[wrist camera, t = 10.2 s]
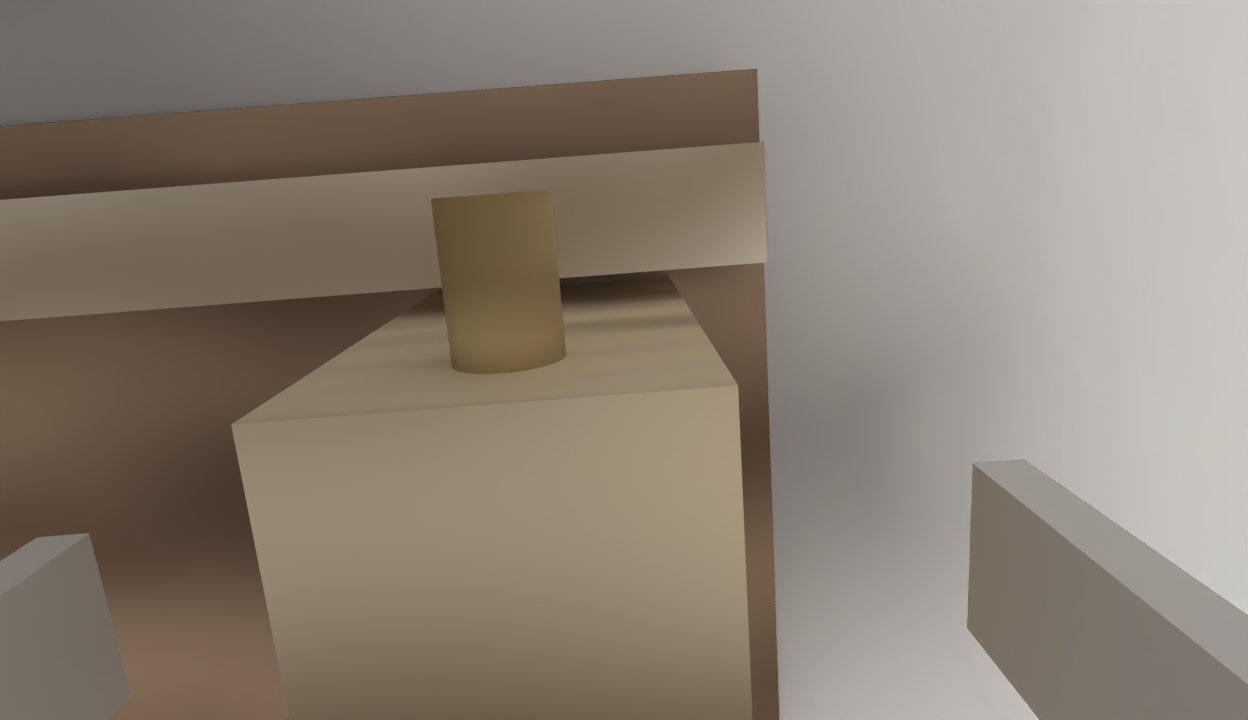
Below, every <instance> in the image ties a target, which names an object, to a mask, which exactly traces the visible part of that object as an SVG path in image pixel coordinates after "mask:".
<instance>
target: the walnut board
mask: <svg viewBox="0 0 1248 720" xmlns="http://www.w3.org/2000/svg"><path fill="white" fill-rule="evenodd" d="M534 190H551V196H552V207H553V218H554V228H555V239H556V250H557V261H558V271H559V282H560V284H571V283H584V282H597V281H610V280H623V279H636V278H649V277H662V276H669V277H670V279H671V280H672V282H673V283H674V285H675V287H676V288H677V290H678V291H679V293H680V294H681V296H682V298H683V299H684V301H685V302H686V304H687V305H688V307H689V309H690V310H691V312H692V313H693V315H694V317H695V318H696V320H697V321H698V323H699V324H700V326H701V328H702V329H703V331H704V332H705V334H706V335H707V337H708V339H709V340H710V342H711V343H712V345H713V347H714V348H715V350H716V351H717V353H718V354H719V356H720V358H721V359H722V361H723V362H724V364H725V365H726V367H727V369H728V370H729V372H730V373H731V375H732V376H733V378H734V380H735V381H736V383H737V384H738V394H739V417H740V441H741V464H742V487H743V510H744V533H745V557H746V580H747V603H748V626H749V649H750V672H751V696H752V719H753V720H779V700H778V671H777V642H776V612H775V583H774V554H773V525H772V496H771V467H770V438H769V409H768V379H767V350H766V321H765V292H764V263H766V262H767V231H766V201H765V171H764V142H759V117H758V88H757V69H749V70H735V71H722V72H709V73H696V74H683V75H670V76H656V77H643V78H630V79H617V80H604V81H591V82H577V83H564V84H551V85H538V86H525V87H512V88H498V89H485V90H472V91H459V92H446V93H433V94H419V95H406V96H393V97H380V98H367V99H354V100H340V101H327V102H314V103H301V104H288V105H275V106H261V107H248V108H235V109H222V110H209V111H196V112H182V113H169V114H156V115H143V116H130V117H117V118H103V119H90V120H77V121H64V122H51V123H38V124H24V125H11V126H0V561H1V560H3V559H5V558H6V557H8V556H9V555H11V554H12V553H14V552H15V551H17V550H18V549H20V548H21V547H23V546H24V545H26V544H28V543H29V542H31V541H32V540H34V539H35V538H37V537H46V536H59V535H71V534H84V533H89V534H90V538H91V542H92V546H93V550H94V554H95V558H96V562H97V565H98V569H99V573H100V577H101V581H102V585H103V589H104V593H105V596H106V600H107V604H108V608H109V612H110V616H111V620H112V624H113V627H114V631H115V635H116V639H117V643H118V647H119V651H120V655H121V658H122V662H123V666H124V670H125V674H126V678H127V682H128V686H129V689H130V693H131V695H130V696H129V698H128V699H127V700H126V701H125V702H124V703H123V704H122V705H121V706H120V708H119V709H118V710H117V711H116V712H115V713H114V714H113V715H112V717H111V718H110V719H109V720H289V717H288V712H287V707H286V702H285V697H284V692H283V687H282V681H281V676H280V671H279V666H278V661H277V656H276V651H275V646H274V641H273V635H272V630H271V625H270V620H269V615H268V610H267V605H266V600H265V595H264V589H263V584H262V579H261V574H260V569H259V564H258V559H257V554H256V549H255V543H254V538H253V533H252V528H251V523H250V518H249V513H248V508H247V503H246V497H245V492H244V487H243V482H242V477H241V472H240V467H239V462H238V457H237V451H236V446H235V441H234V436H233V431H232V426H231V424H233V423H234V422H236V421H237V420H239V419H240V418H242V417H244V416H245V415H247V414H248V413H250V412H251V411H253V410H254V409H256V408H257V407H259V406H260V405H262V404H263V403H265V402H267V401H268V400H270V399H271V398H273V397H274V396H276V395H277V394H279V393H280V392H282V391H283V390H285V389H287V388H288V387H290V386H291V385H293V384H294V383H296V382H297V381H299V380H300V379H302V378H303V377H305V376H306V375H308V374H310V373H311V372H313V371H314V370H316V369H317V368H319V367H320V366H322V365H323V364H325V363H326V362H328V361H329V360H331V359H333V358H334V357H336V356H337V355H339V354H340V353H342V352H343V351H345V350H346V349H348V348H349V347H351V346H353V345H354V344H356V343H357V342H359V341H360V340H362V339H363V338H365V337H366V336H368V335H369V334H371V333H372V332H374V331H376V330H377V329H379V328H380V327H382V326H383V325H385V324H386V323H388V322H389V321H391V320H392V319H394V318H395V317H397V316H399V315H400V314H402V313H403V312H405V311H406V310H408V309H409V308H411V307H412V306H414V305H415V304H417V303H419V302H420V301H422V300H423V299H425V298H426V297H428V296H429V295H431V294H441V293H443V292H442V285H441V277H440V269H439V261H438V253H437V245H436V237H435V230H434V222H433V214H432V206H431V199H433V198H444V197H456V196H469V195H481V194H494V193H507V192H521V191H534Z"/></svg>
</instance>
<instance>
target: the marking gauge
mask: <svg viewBox="0 0 1248 720" xmlns="http://www.w3.org/2000/svg"><path fill="white" fill-rule="evenodd" d="M431 206H432V214H433V222H434V230H435V237H436V245H437V253H438V261H439V269H440V277H441V285H442V292H443V293H441V294H431V295H429V296H428V297H426V298H425V299H423V300H422V301H420V302H419V303H417V304H415V305H414V306H412V307H411V308H409V309H408V310H406V311H405V312H403V313H402V314H400V315H399V316H397V317H395V318H394V319H392V320H391V321H389V322H388V323H386V324H385V325H383V326H382V327H380V328H379V329H377V330H376V331H374V332H372V333H371V334H369V335H368V336H366V337H365V338H363V339H362V340H360V341H359V342H357V343H356V344H354V345H353V346H351V347H349V348H348V349H346V350H345V351H343V352H342V353H340V354H339V355H337V356H336V357H334V358H333V359H331V360H329V361H328V362H326V363H325V364H323V365H322V366H320V367H319V368H317V369H316V370H314V371H313V372H311V373H310V374H308V375H306V376H305V377H303V378H302V379H300V380H299V381H297V382H296V383H294V384H293V385H291V386H290V387H288V388H287V389H285V390H283V391H282V392H280V393H279V394H277V395H276V396H274V397H273V398H271V399H270V400H268V401H267V402H265V403H263V404H262V405H260V406H259V407H257V408H256V409H254V410H253V411H251V412H250V413H248V414H247V415H245V416H244V417H242V418H240V419H239V420H237V421H236V422H234V423H233V424H231V426H232V431H233V436H234V441H235V446H236V451H237V457H238V462H239V467H240V472H241V477H242V482H243V487H244V492H245V497H246V503H247V508H248V513H249V518H250V523H251V528H252V533H253V538H254V543H255V549H256V554H257V559H258V564H259V569H260V574H261V579H262V584H263V589H264V595H265V600H266V605H267V610H268V615H269V620H270V625H271V630H272V635H273V641H274V646H275V651H276V656H277V661H278V666H279V671H280V676H281V681H282V687H283V692H284V697H285V702H286V707H287V712H288V717H289V720H753V719H752V696H751V672H750V649H749V626H748V603H747V580H746V557H745V533H744V510H743V487H742V464H741V441H740V417H739V394H738V384H737V383H736V381H735V380H734V378H733V376H732V375H731V373H730V372H729V370H728V369H727V367H726V365H725V364H724V362H723V361H722V359H721V358H720V356H719V354H718V353H717V351H716V350H715V348H714V347H713V345H712V343H711V342H710V340H709V339H708V337H707V335H706V334H705V332H704V331H703V329H702V328H701V326H700V324H699V323H698V321H697V320H696V318H695V317H694V315H693V313H692V312H691V310H690V309H689V307H688V305H687V304H686V302H685V301H684V299H683V298H682V296H681V294H680V293H679V291H678V290H677V288H676V287H675V285H674V283H673V282H672V280H671V279H670V277H669V276H662V277H649V278H636V279H623V280H610V281H597V282H584V283H571V284H560V282H559V271H558V261H557V250H556V239H555V228H554V218H553V207H552V196H551V190H534V191H521V192H507V193H494V194H481V195H469V196H456V197H444V198H433V199H431Z"/></svg>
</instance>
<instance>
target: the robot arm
mask: <svg viewBox="0 0 1248 720" xmlns="http://www.w3.org/2000/svg"><path fill="white" fill-rule="evenodd" d="M967 628H968V630H969V631H970V632H971V633H972V635H973V636H974V637H975V639H976V640H977V641H978V642H979V644H980V645H981V646H982V647H983V649H984V650H985V651H986V652H987V654H988V655H989V656H990V658H991V659H992V660H993V661H994V663H995V664H996V665H997V666H998V668H999V669H1000V670H1001V671H1002V673H1003V674H1004V675H1005V677H1006V678H1007V679H1008V680H1009V682H1010V683H1011V684H1012V685H1013V687H1014V688H1015V689H1016V691H1017V692H1018V693H1019V694H1020V696H1021V697H1022V698H1023V699H1024V701H1025V702H1026V703H1027V704H1028V706H1029V707H1030V708H1031V710H1032V711H1033V712H1034V713H1035V715H1036V716H1037V717H1038V718H1039V720H1248V615H1247V614H1245V613H1244V612H1243V611H1241V610H1240V609H1238V608H1237V607H1235V606H1234V605H1232V604H1231V603H1230V602H1228V601H1227V600H1225V599H1224V598H1222V597H1221V596H1220V595H1218V594H1217V593H1215V592H1214V591H1212V590H1211V589H1209V588H1208V587H1207V586H1205V585H1204V584H1202V583H1201V582H1199V581H1198V580H1197V579H1195V578H1194V577H1192V576H1191V575H1189V574H1188V573H1186V572H1185V571H1184V570H1182V569H1181V568H1179V567H1178V566H1176V565H1175V564H1174V563H1172V562H1171V561H1169V560H1168V559H1166V558H1165V557H1163V556H1162V555H1161V554H1159V553H1158V552H1156V551H1155V550H1153V549H1152V548H1151V547H1149V546H1148V545H1146V544H1145V543H1143V542H1142V541H1140V540H1139V539H1138V538H1136V537H1135V536H1133V535H1132V534H1130V533H1129V532H1128V531H1126V530H1125V529H1123V528H1122V527H1120V526H1119V525H1117V524H1116V523H1115V522H1113V521H1112V520H1110V519H1109V518H1107V517H1106V516H1105V515H1103V514H1102V513H1100V512H1099V511H1097V510H1096V509H1094V508H1093V507H1092V506H1090V505H1089V504H1087V503H1086V502H1084V501H1083V500H1082V499H1080V498H1079V497H1077V496H1076V495H1074V494H1073V493H1071V492H1070V491H1069V490H1067V489H1066V488H1064V487H1063V486H1061V485H1060V484H1059V483H1057V482H1056V481H1054V480H1053V479H1051V478H1050V477H1048V476H1047V475H1046V474H1044V473H1043V472H1041V471H1040V470H1038V469H1037V468H1036V467H1034V466H1033V465H1031V464H1030V463H1028V462H1027V461H1026V460H1011V461H998V462H986V463H973V473H972V502H971V532H970V561H969V590H968V619H967ZM130 695H131V693H130V689H129V686H128V682H127V678H126V674H125V670H124V666H123V662H122V658H121V655H120V651H119V647H118V643H117V639H116V635H115V631H114V627H113V624H112V620H111V616H110V612H109V608H108V604H107V600H106V596H105V593H104V589H103V585H102V581H101V577H100V573H99V569H98V565H97V562H96V558H95V554H94V550H93V546H92V542H91V538H90V534H89V533H84V534H71V535H59V536H46V537H37V538H35V539H34V540H32V541H31V542H29V543H28V544H26V545H24V546H23V547H21V548H20V549H18V550H17V551H15V552H14V553H12V554H11V555H9V556H8V557H6V558H5V559H3V560H1V561H0V720H109V719H110V718H111V717H112V715H113V714H114V713H115V712H116V711H117V710H118V709H119V708H120V706H121V705H122V704H123V703H124V702H125V701H126V700H127V699H128V698H129V696H130Z"/></svg>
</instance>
